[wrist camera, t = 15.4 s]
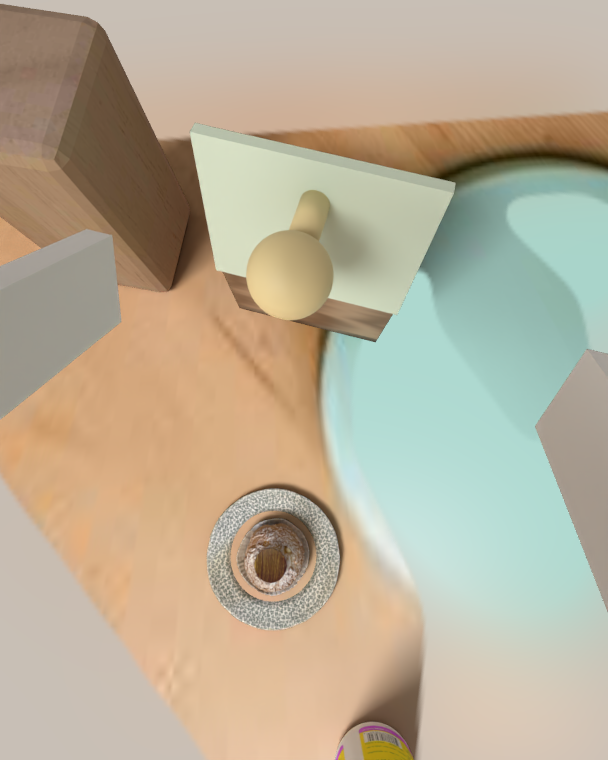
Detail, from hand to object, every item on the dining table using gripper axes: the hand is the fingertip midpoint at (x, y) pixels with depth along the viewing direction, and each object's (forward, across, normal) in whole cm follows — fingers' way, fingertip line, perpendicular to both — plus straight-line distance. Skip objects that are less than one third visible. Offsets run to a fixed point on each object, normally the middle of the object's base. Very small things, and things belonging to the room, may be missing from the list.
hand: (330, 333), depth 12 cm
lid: (+17, +3, +2) cm, 18 cm away
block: (+29, +23, +11) cm, 39 cm away
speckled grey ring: (+11, +1, +30) cm, 32 cm away
